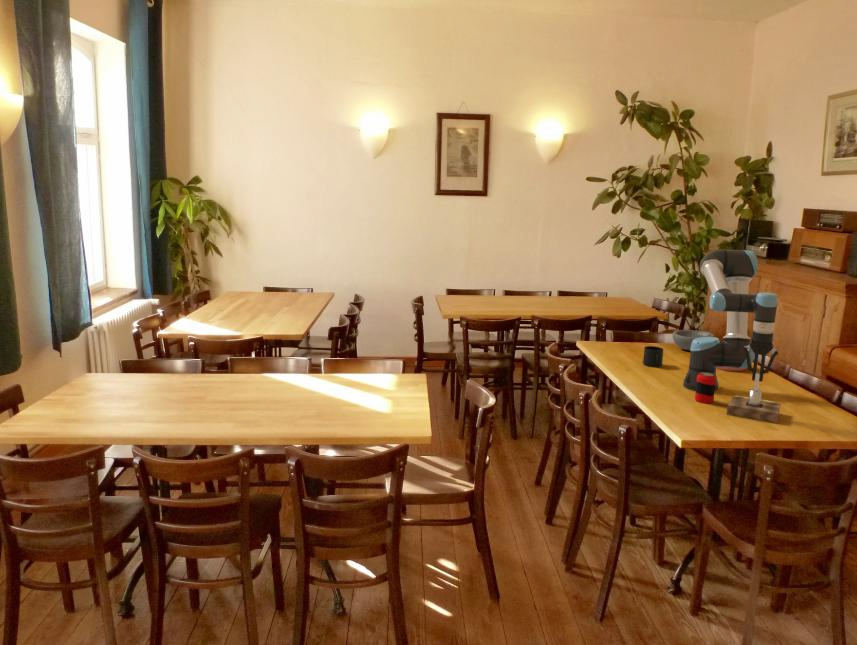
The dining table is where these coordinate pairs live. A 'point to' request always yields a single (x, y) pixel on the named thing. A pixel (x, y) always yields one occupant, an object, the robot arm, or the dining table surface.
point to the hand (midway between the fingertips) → (756, 388)
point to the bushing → (755, 398)
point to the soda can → (705, 388)
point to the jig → (754, 409)
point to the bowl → (688, 337)
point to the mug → (653, 356)
